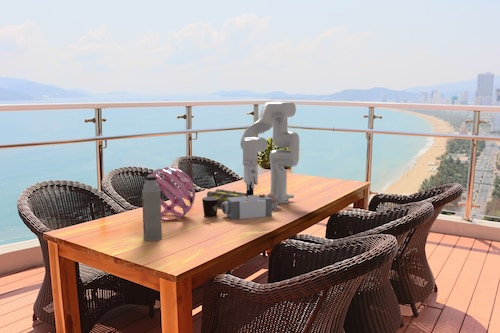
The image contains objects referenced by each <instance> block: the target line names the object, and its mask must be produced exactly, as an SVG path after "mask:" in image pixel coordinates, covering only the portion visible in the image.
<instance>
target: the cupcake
mask: <svg viewBox="0 0 500 333" xmlns="http://www.w3.org/2000/svg"><path fill="white" fill-rule="evenodd" d="M265 195H266V196H268V197H270V198H271V199H272V210H275V209H276V210H277V208H278V205H279V204H278V203H279V200H277V196H276V195H274V194H273V193H272V192H271V191H270V193H268V194H265Z"/></svg>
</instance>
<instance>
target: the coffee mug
mask: <svg viewBox="0 0 500 333" xmlns="http://www.w3.org/2000/svg"><path fill="white" fill-rule="evenodd" d="M201 199H202V207H203V208H202V209H203V215H204V218H205V219H206V218H215V217H217V216H218V209H219V205H220V203H221V201H220V199H219V198H217V197H207V196H205V197H202V198H201ZM218 200H219V201H220V202H219V205H218Z"/></svg>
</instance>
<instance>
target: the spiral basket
mask: <svg viewBox="0 0 500 333" xmlns="http://www.w3.org/2000/svg"><path fill="white" fill-rule="evenodd" d="M168 170H170V171H172V172H169V171H168ZM158 172H159V173H162V176H163V177H164V178H163V177H161V176H159V175H158ZM146 177H157V179H156V180H157V184H159V189H160V192H161V193H162V194H163V195H164V196H165V197H166V198H167V199H168V200H169V201H170V202H171V203H170V204H168V203H166V202H165V201H164V200H163V199H162V198H161V207H162V208H164V210H163V211H161V221H166V222H171V221H177V220H179V219H181V218H183V217H185V216H186V215H187V214H188V213H189V212H190V210H191V209H192V207H193V206H194V202H195V199H196V191H195V185H194V182H193V181H192V179H191V178H190V176H189V175H188V174H186V172H184V171H183V170H181V169H179V168H173V167H171V166H170V167H169V166H168V167H167V166H166V167H164V168H158V169H155V170H153V172H152V173H151V174H150V173H149V174H148V175H147V176H146ZM145 181H146V179H145ZM175 183H176V184H177V185H178V186H176V184H175ZM190 192H192V194H191V193H190ZM184 200H187V201H188V202H189V205H188V204H186V202H185V201H184ZM175 207H178V208H181V209H182V213H181V212H179V211H177V210H175ZM169 213H170V214H172V215H174V216H176V217H174V218H162V217H163V216H165V215H167V214H169Z"/></svg>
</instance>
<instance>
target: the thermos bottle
mask: <svg viewBox="0 0 500 333" xmlns="http://www.w3.org/2000/svg"><path fill="white" fill-rule="evenodd" d="M156 179H157V177H147V176H146V177H145V180H146V181H145V182H144V184H143V187H142V188H143V189H142V190H141V194H142V195H141V196H142V197H141V198H142V223H143V224H142V225H143V227H142V228H143V232H142V233H143V241H145V242H156V241H157V242H158V241H160V240H162V238H163V235H162V233H163V232H162V231H163V230H162V220H161V218H162V216H161V212H162V205H161V199H162V197H161V196H162V195H161V193H162V191H161V190H160V189H159V184H157V180H156Z"/></svg>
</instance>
